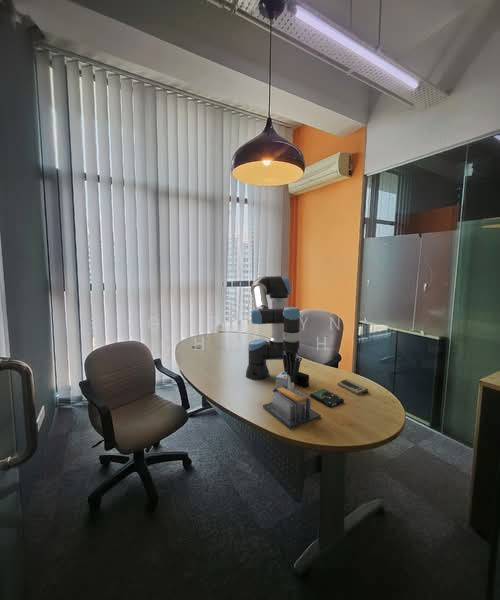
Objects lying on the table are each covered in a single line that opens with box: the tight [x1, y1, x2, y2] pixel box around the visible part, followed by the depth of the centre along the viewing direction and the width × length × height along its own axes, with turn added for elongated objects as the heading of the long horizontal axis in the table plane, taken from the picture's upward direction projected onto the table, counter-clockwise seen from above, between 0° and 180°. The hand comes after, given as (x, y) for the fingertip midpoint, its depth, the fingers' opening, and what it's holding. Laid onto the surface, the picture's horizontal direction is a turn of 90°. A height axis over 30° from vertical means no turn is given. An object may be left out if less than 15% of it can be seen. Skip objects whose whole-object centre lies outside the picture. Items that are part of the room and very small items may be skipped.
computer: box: [337, 378, 369, 397], centre depth 160 cm, size 16×8×3 cm, turn 26°
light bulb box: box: [275, 370, 289, 393], centre depth 156 cm, size 11×7×11 cm, turn 152°
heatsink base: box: [262, 385, 322, 430], centre depth 134 cm, size 22×18×10 cm
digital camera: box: [294, 371, 310, 389], centre depth 166 cm, size 10×5×7 cm, turn 43°
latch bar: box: [277, 387, 307, 403], centre depth 134 cm, size 19×4×2 cm, turn 30°
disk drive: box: [309, 388, 345, 409], centre depth 147 cm, size 10×3×15 cm
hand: (290, 387), depth 133 cm, fingers closed
